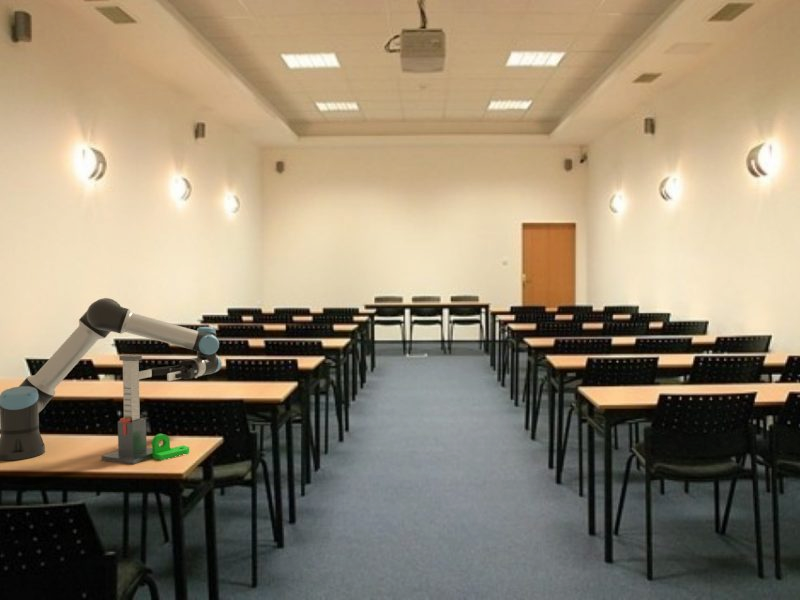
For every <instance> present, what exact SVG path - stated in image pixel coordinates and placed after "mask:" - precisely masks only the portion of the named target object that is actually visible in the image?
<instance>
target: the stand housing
mask: <svg viewBox="0 0 800 600" xmlns="http://www.w3.org/2000/svg"><path fill="white" fill-rule="evenodd" d="M117 442H118V443H117V445H118V446H117V449H118V450H115V451H113V452H110V453H107V454H104V455H100V456H101V459H100V460H101V461H103V462H110V463H111V462H112V463H120V464H127V465H128V464H129V465H136V464H138V463H140V462H141V463H142V462H144V461H146V460H149V459H151V458H152V447H147V418H141V417H140V420H137V421H133V422H131V418H124V417H122V418H120V419H119V420H118V421H117Z"/></svg>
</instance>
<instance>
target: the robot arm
mask: <svg viewBox="0 0 800 600" xmlns="http://www.w3.org/2000/svg"><path fill="white" fill-rule="evenodd" d="M78 323H79V324H78V327H76V329H74V331H73V332H72V333H71V334H70V335H69V336H68V337H67V339H66V340H65V341H64V342H63V343H62V344H61V345H60V346H59V347H58V349H57V350H56V351H55V352H54V353H53V354H52V355H51V356H50V358H48V360H47V361H46V362H45V363H44V364H43V365H42V366H41V368H40V369H39V370H38V371H37V372H36V373H35V374H34V375H28V376H27V377H26V378H25V379H24V380H23V381H22V382H21V383H20V384H19V386H13V387H10V388H7V389H4V390H3V391H2V392H1V393H0V461H18V460H19V459H20V460H25V459H30V457H31V458H35V457H38V456H41V455H43V454H44V453H45V452H46V445H45V442H44V440H43V437H42V435H41V432H40V427H39V426H40V420H39V418H40V417H39V414H40V413H41V412H42V411H43V409H45V407H46V406H47V404H49V402H50V401H51V399H53V398H54V396H55V395H56V390H55V389H56V387H58V386H59V385H60V383H62V381H64V379H65V378H66V377H67V376H68V374H69V373H70V372H71V371H72V370H73V368H75V366H77V364H78V363H79V362H80V361H81V360H82V358H83V357H84V356H85V355H86V354H87V353H88V352H89V351H90V349H92V347H93V346H95V344H96V343H97V342H98V340H102V339H106V338H107V337H108V336H109V334H110V333H111V332H112V333H115V334H120V335H121V334H123V333H128V334H131V335H136V336H137V337H138V336H139V337H142V338H147V339H150V340H155V341H158V342H163V343H166V344H170V345H173V346H177V347H181V348H185V349H188V350H192V351H196V357H194V358H188V359H184V360H181V361H180V362H179V363H178V365H174V366H173V365H172V366H170V365H169V366H164V367H163V366H162V367H154V368H153V367H151V368H145V370H140V371H139V380H142V379H147V378H148V379H151V378H152V377H153V376H154V377H155V376H166V380H167V382H171V381H176V380H180V379H184V380H189V379H194V378H195V379H197V378H198V377H202V376H206V375H212V374H214V373H217V372H218V371H220V370H221V368H222V365H223V364H222V363H223V362H222V359H221V358H220V356H218V354H217V352H218V350H219V348H220V342H219V339H218V337H217V333H216V328H215V327H213V326H200V327H197V329H196V330H195V329H191V328H189V327H184V326H180V325H177V324H174V323H170V322H166V321H163V320H159V319H156V318H152V317H148V316H145V315H141V314H137V313H134V312H132V311H131V309H130V308H126V307H123V306H121V305H120V303H118V301H116V300H115V299H112V298H109V297H108V298H107V297H104V298H100V299H98V300H96V301H94V302H92V303H91V304H90V305H89V306H88V308H87V309H86V311H85V312H84V314H83V315H81V317H80V318H79V319H78ZM20 460H19V461H20Z"/></svg>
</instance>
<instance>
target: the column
mask: <svg viewBox="0 0 800 600" xmlns="http://www.w3.org/2000/svg"><path fill="white" fill-rule="evenodd" d="M118 357H119V359H118V360H119V361H122V387H123V388H122V390H123V391H122V392H123V418H131V422H133V421H137V420H140V418H141V417H140V416H141V415H140V413H141V412H140V409H141V408H140V407H141V406H140V379H139V370H140V369H139V368H140V367H139V366H140V364H139V363H140V361H143V356H142V355H136V354H123V355H119V356H118Z"/></svg>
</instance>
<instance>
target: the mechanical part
mask: <svg viewBox="0 0 800 600" xmlns="http://www.w3.org/2000/svg"><path fill="white" fill-rule="evenodd" d="M161 440H162V444H161V445H159V443H160V441H161ZM170 442H171V439H170V437H169V435H167V434H163V433H158V434H156V435H155V436H154V437H153V439H152V441H151V448H152V457H153V459H155V458H156V460H158V459H159V460H158V461H161V460H162V461H165V460H164V459H166V460H169V459H168V458H170V459H173V458H172V457H175V456H179V455H183V454H187V453H189V454H190V446H187V445H184V444H183V445H179V446H175V447H171V443H170ZM187 455H188V454H187ZM183 456H184V455H183ZM179 457H180V456H179ZM175 458H176V457H175Z"/></svg>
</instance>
